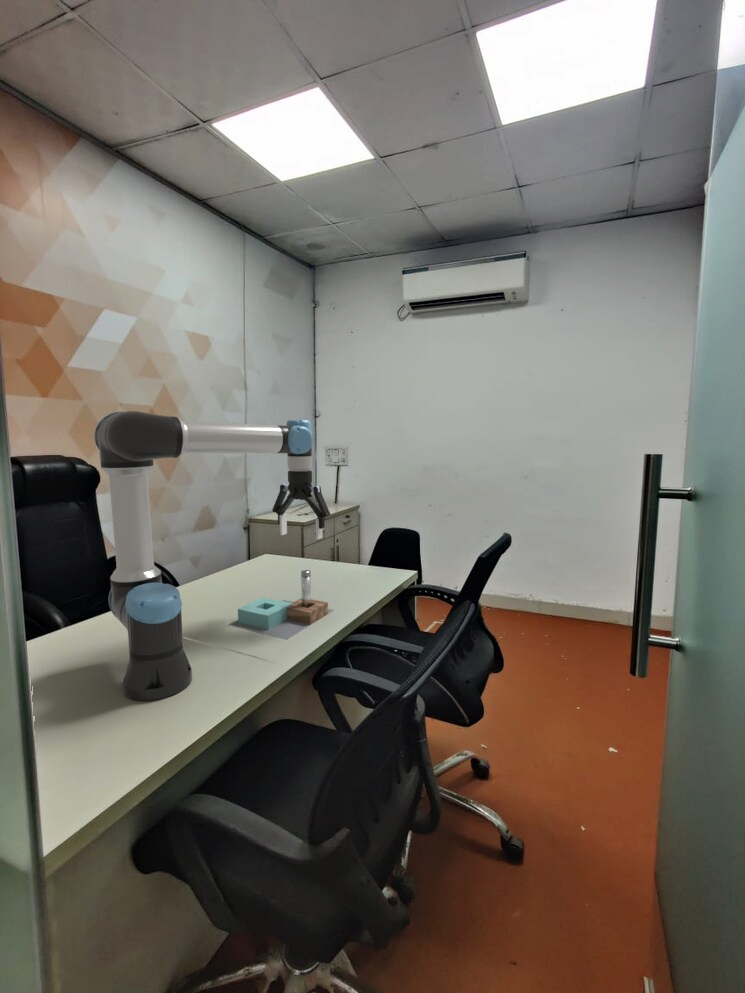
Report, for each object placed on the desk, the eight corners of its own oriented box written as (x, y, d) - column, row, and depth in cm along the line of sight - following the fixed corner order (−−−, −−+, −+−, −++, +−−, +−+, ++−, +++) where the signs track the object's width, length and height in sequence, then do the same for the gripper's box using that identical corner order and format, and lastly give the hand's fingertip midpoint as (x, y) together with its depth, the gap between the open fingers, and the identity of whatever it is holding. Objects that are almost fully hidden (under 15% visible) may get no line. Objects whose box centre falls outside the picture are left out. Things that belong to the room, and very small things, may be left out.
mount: (310, 624, 149) (310, 612, 149) (284, 619, 154) (284, 607, 153) (327, 614, 158) (327, 602, 158) (302, 608, 163) (302, 597, 162)
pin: (307, 618, 154) (307, 573, 152) (299, 617, 155) (299, 571, 153) (312, 615, 157) (312, 570, 155) (305, 614, 158) (304, 569, 156)
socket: (268, 629, 146) (268, 615, 145) (238, 622, 151) (237, 609, 150) (292, 616, 156) (292, 603, 156) (263, 610, 162) (263, 597, 161)
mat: (286, 641, 139) (286, 639, 139) (231, 627, 148) (231, 625, 148) (334, 611, 162) (334, 610, 162) (283, 601, 171) (283, 599, 171)
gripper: (340, 470, 149) (341, 538, 151) (274, 467, 159) (276, 530, 162) (328, 472, 142) (328, 542, 145) (260, 469, 153) (262, 534, 155)
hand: (301, 536), depth 153 cm, fingers open, 13 cm apart
